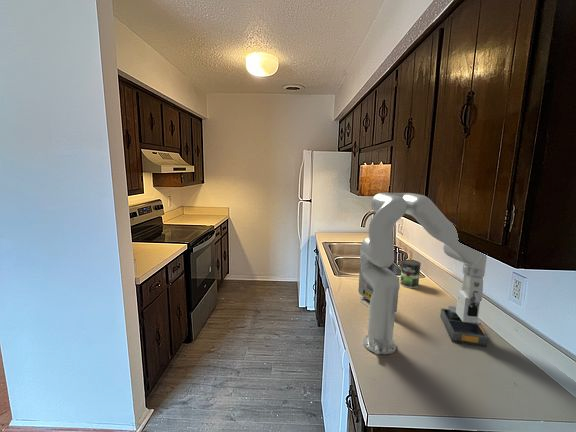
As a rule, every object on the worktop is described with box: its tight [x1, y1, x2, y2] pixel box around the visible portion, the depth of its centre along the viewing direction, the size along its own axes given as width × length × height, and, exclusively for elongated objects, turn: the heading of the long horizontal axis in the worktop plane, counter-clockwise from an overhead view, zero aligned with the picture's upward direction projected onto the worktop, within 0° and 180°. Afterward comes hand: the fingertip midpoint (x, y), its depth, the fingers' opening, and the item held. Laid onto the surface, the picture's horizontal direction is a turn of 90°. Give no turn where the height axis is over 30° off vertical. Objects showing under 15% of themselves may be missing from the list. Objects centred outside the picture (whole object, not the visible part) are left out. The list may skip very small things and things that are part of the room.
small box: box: [455, 289, 481, 323], centre depth 124 cm, size 8×6×10 cm
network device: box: [357, 261, 400, 313], centre depth 151 cm, size 26×9×20 cm, turn 22°
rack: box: [439, 308, 489, 348], centre depth 131 cm, size 22×13×4 cm, turn 165°
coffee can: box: [399, 259, 422, 289], centre depth 179 cm, size 10×10×14 cm
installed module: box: [447, 305, 462, 321], centre depth 136 cm, size 6×8×6 cm
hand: (468, 310), depth 125 cm, fingers closed on small box, 8 cm apart
